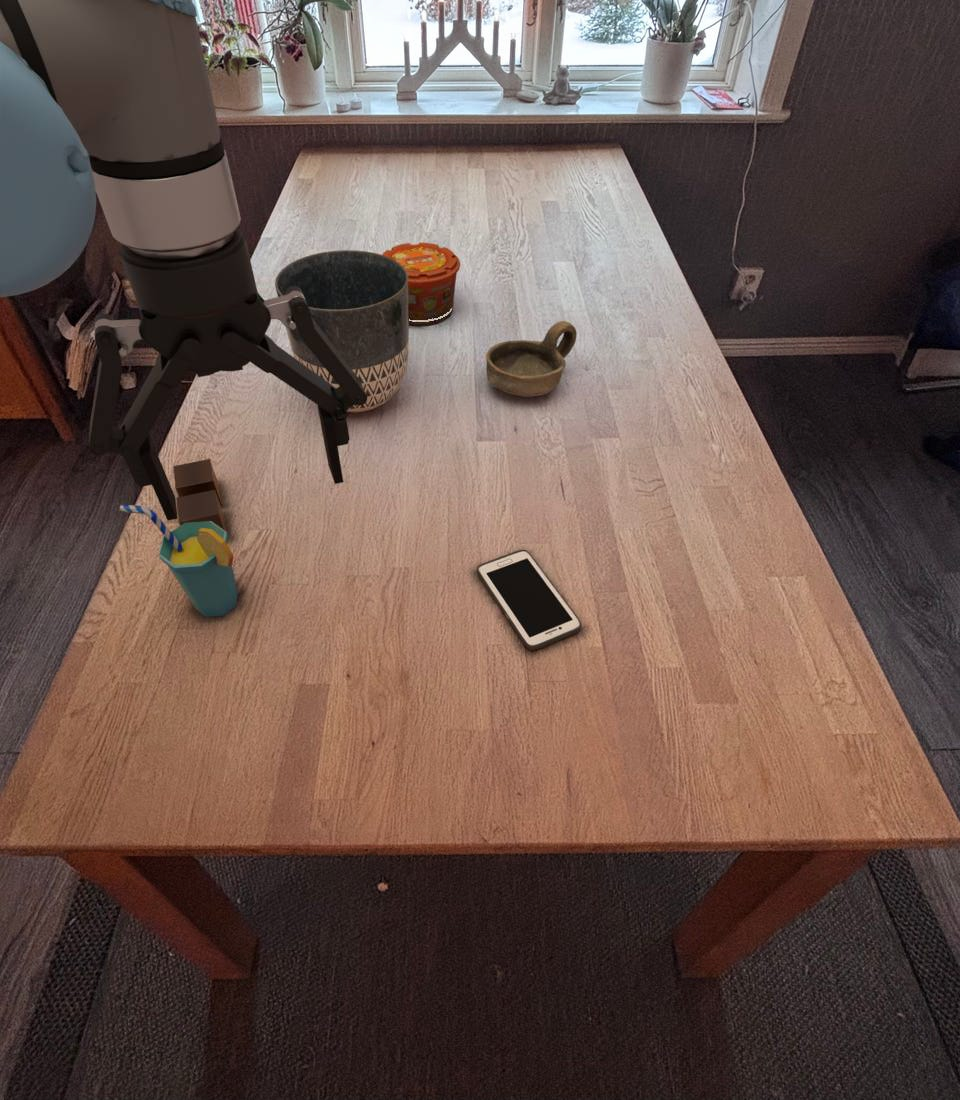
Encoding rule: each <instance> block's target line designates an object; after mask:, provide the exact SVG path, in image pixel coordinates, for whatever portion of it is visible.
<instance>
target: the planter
mask: <svg viewBox="0 0 960 1100" xmlns="http://www.w3.org/2000/svg"><path fill="white" fill-rule="evenodd" d="M291 286H297V287H299V288H300V289H301V291H302V293H303V295H304V298H305V300H306V302H307V305H308V307H309V311H310V314H311V317H312V318H313V320H314V321H315V322H316V324H317V325H318V326H319V327H320V329H321V330H322V331H323V333H324V334H325V335H326V337H327V338H328V339H329V340H330V342H331V343H332V344H333V346H334V347H335V348H336V349H337V351H338V352H339V353H340V355H341V356H342V357H343V359H344V360H345V361H346V362H347V364H348V365H349V366H350V368H351V369H352V370H353V372H354V373H355V374H356V375H357V377H358V378H359V380H360V382H361V384H362V386H363V388H364V391H365V393H366V395H367V401H366V403H365V404H363V405H360V406H358V405H354V406H352V407H350V408H349V409H348V410H347V412H348V413H363V412H368V411H371V410H374V409H376V408H379V407H381V406H382V405H383V404H385V403H386V402H388V401H389V400H391V398H393V396H394V395H395V394H396V393H397V392H398V390H399V389H400V387H401V385H402V384H403V381H404V379H405V376H406V372H407V368H408V363H409V353H410V352H409V351H410V349H409V347H410V344H409V343H410V342H409V341H410V325H409V280H408V273H407V271H406V269H405V268H404V267H403V266H402V265H401V264H400V263H398V262H397V261H395V260H393V259H391V258H389V257H387V256H384V255H382V254H380V253H376V252H372V251H365V250H356V249H355V250H353V249H352V250H351V249H344V250H343V249H340V250H329V251H323V252H318V253H314V254H310V255H307V256H303V257H301V258H298V259H296V260H294V261H292V262H290V263H289V264H287V265H285V266H284V267H283V268H282V269H281V270H280V271H279V272H278V274H277V275H276V277H275V280H274V289H275V292H276V295H277V297H280V296H284V295H285V292H286V290H287V289H288V287H291ZM285 330H286V334H287V338H288V342H289V345H290V348H291V352H292V357H294V358H295V359H297V360H298V361H299V362H301V363H302V364H304V365H305V366H306V367H308V368H309V369H310V370H312V371H313V372H315V373H316V374H317V375H319V376H320V377H322V378H323V379H324V380H326V381H327V382H328V383H330V384H331V385H333V386H334V387H335V388H338V387H340V386H339V385H338V383H337V382H336V381H335V380H334V378H333V377H332V376H331V375H330V374H329V372H328V371H327V370H326V369H325V367H324V366H323V365H322V364H321V362H320V361H319V360H318V359H317V358H316V356H315V355H314V354H313V353H312V351H311V350H310V349H309V348H308V346H307V345H306V344H305V343H304V341H303V340H302V338H301V336H300V335H299V333H298V330H297V328H296V329H293V330H292V329H289V328H286V327H285Z"/></svg>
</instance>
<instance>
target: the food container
mask: <svg viewBox="0 0 960 1100" xmlns="http://www.w3.org/2000/svg"><path fill="white" fill-rule="evenodd" d="M381 255H384V256H387V257H389V258H391V259H393V260H395V261H397V262H398V263H400V264H401V265H402V266H403V267H404V268H405V269H406V271H407V273H408V280H409V319H410V320H428V319H432V318H433V319H434V318H438V317H440V316H443V315H444V314H446V313H447V312H449V311H450V309H451V308H452V306H453V307H454V302H455V301H454V300H455V291H456V283H457V274H458V272H459V271H460V268H461V261H460V258H459V257H458V256H457V255H456V254H455V252H454V251H453V250H451V249H450V248H448V247H446V246H443V247H440V246H439V244H438V243H437V244H436V243H431V242H419V243H417V244H411V243H410V242H407V243H401V244H397V245H395V246H392V247H391V250H390V249H386V250H385V251H383V253H382V254H381ZM452 313H453V309H452V311H451V312H450V313H449V314H448V315H447V316H445V317H443V318H441V319H438V320H434V321H429V322H412V321H409V326H416V327H423V326H424V327H426V326H431V325H438V324H441V323H442V322H444V321H445V320H447V319H448V318H450V317H451V315H452Z"/></svg>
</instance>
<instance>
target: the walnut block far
mask: <svg viewBox="0 0 960 1100" xmlns="http://www.w3.org/2000/svg"><path fill="white" fill-rule="evenodd" d="M172 468H173V469H172V470H173V478H174V488H175V491H176V493H177V496H178V497H183V496H188V495H192V494H197V493H202V492H206V491H211V490H215V492H216V495H217V497H218V500H219V503H220V506H221V508H222V507H223V502H222V501H223V500H222V495H221V489H220V484H219V481H218V478H217V476H216V472H215V469H214V466H213V464H212V461H211V458H206V459H202V460H197V461H191V462H187V463H182V464H181V463H180V464H177V465H173V467H172Z"/></svg>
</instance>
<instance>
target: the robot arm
mask: <svg viewBox="0 0 960 1100" xmlns="http://www.w3.org/2000/svg"><path fill="white" fill-rule="evenodd" d="M197 17H198V12H197V8H196V6H195V4H194V2H193V0H0V298H7V297H14V296H19V295H22V294H26V293H29V292H32V291H36V290H38V289H40V288H43V287H44V286H47V285H48V284H50V283H51V282H53V281H54V280H56V279H58V278H59V277H61V276H62V275H63V274H64V273H65V272H66V271H68V269H70V268H71V267H72V266H73V264H75V262H76V261H77V260H78V259H79V257H80V256H81V254H82V252H83V251H84V249H85V248H86V246H87V244H88V241H89V239H90V237H91V235H92V232H93V228H94V224H95V221H96V220H95V218H96V213H97V212H96V211H97V198H98V201H99V203H100V207H101V209H102V212H103V214H104V217H105V219H106V223H107V226H108V228H109V230H110V233H111V235H112V237H113V238H114V239H115V240H116V241H117V242H118V243H120V244H119V247H118V254H119V255H118V256H119V257H120V260H121V263H122V267H123V268H124V271H125V274H126V277H127V279H128V282H129V285H130V288H131V290H132V293H133V296H134V298H135V301H136V304H137V307H138V309H139V317H138V318H136V319H135V318H134V319H115V318H114V316H112V314H108V313H105V312H102V313H99V314H97V315H96V316H95V318H94V342H95V346H96V349H97V352H98V357H99V361H98V369H97V375H96V382H95V387H94V396H93V402H92V407H91V408H92V409H91V414H90V422H89V428H88V451H89V452H90V454H92V455H94V456H98V457H101V456H104V455H106V454H107V453H113V454H117V455H120V456H121V457H122V458H123V460H124V462H125V465H126V466H127V468H128V469H129V470H128V471H129V473H130V474H131V477H132V478H133V481H134V483H135V484H136V485H138V487H140V488H142V487H148V486H152V488H153V491H154V493H155V495H156V497H157V500H158V503H159V505H160V507H161V509H162V512H163V513H164V515H165V518H166V520H167V521H173V520H177V519H178V509H177V499H176V495H175V493H174V491H173V488H172V486H171V484H170V481H169V479H168V477H167V474H166V471H165V469H164V466H163V464H162V462H161V460H160V457H159V455H158V452H157V450H156V448H155V445H154V442H153V440H152V438H151V435H150V432H151V430H152V428H153V426H154V425H155V423H156V422H157V419H158V418H159V416H160V415H161V413H162V411H163V409H164V407H165V406H166V404H167V402H168V401H169V399H170V398H171V396H172V394H173V392H174V391H175V390H177V389H178V388H179V387H180V385H181V383H182V381H183V379H184V378H185V376H186V375H187V373H188V374H192V375H197V378H203V377H208V376H211V375H213V374H216V373H219V372H238V371H243V370H244V367H245V366H247V365H248V364H250V363H251V364H253V365H254V366H255V367H257V368H258V369H260V370H261V371H262V372H264V373H266V374H272V375H273V376H275V377H276V378H277V379H279V380H280V381H282V382H283V383H285V384H286V385H288V386H289V387H290V388H292V389H293V390H295V391H297V392H298V393H299V394H301V395H302V396H304V397H305V398H307V399H308V400H309V401H311V402H312V403H314V404H316V405H317V412H318V416H319V421H320V427H321V433H322V438H323V439H322V440H323V443H324V444H323V445H324V449H325V455H326V460H327V464H328V468H329V471H330V474H331V477H332V480H333V483H334V485H339V484H343V483H344V476H343V471H342V464H341V459H340V452H339V447H341V446H345V445H349V442H350V440H351V437H350V431H349V424H348V419H349V412H347V410H348V409H349V408H350V407H352V406H354V405H358V406H360V405H363V404H365V403H366V401H367V395H366V393H365V391H364V388H363V386H362V384H361V382H360V380H359V378H358V377H357V375H356V374H355V373H354V372H353V370H352V369H351V368H350V366H349V365H348V364H347V362H346V361H345V360H344V359H343V357H342V356H341V355H340V353H339V352H338V351H337V349H336V348H335V347H334V346H333V344H332V343H331V342H330V340H329V339H328V338H327V337H326V335H325V334H324V333H323V331H322V330H321V329H320V327H319V326H318V325H317V324H316V322H315V321H314V320H313V318H312V317H311V314H310V311H309V307H308V305H307V302H306V300H305V298H304V295H303V293H302V291H301V289H300V288H299V287H297V286H291V287H288V289H287V290H286V292H285V295H284V296H280V297H278V296H277V297H272V298H268V299H264V298H263V297H262V296H261V295H260V293H259V292H258V288H257V283H256V279H255V275H254V270H253V266H252V265H253V264H252V261H251V258H250V257H251V256H250V252H249V248H248V243H247V239H246V235H245V233H244V232H243V230H242V229H240V228H239V226H240V224H241V220H242V218H241V213H240V208H239V205H238V200H237V196H236V191H235V187H234V181H233V177H232V174H231V168H230V165H229V160H228V155H227V151H226V149H225V147H224V144H223V139H222V136H221V132H220V127H219V121H218V117H217V113H216V112H217V111H216V107H215V103H214V98H213V93H212V88H211V84H210V79H209V73H208V70H207V65H206V59H205V56H204V51H203V45H202V41H201V40H202V39H201V36H200V32H199V26H198V22H197ZM272 320H278V321H280V322H281V323H282V325H283V326H284V328H285V329H286V328H289V329H292V330H293V329H296V328H297V330H298V333H299V335H300V336H301V338H302V340H303V341H304V343H305V344H306V345H307V346H308V348H309V349H310V350H311V351H312V353H313V354H314V355H315V356H316V358H317V359H318V360H319V361H320V362H321V364H322V365H323V366H324V367H325V369H326V370H327V371H328V372H329V374H330V375H331V376H332V377H333V378H334V380H335V381H336V382H337V383H338V385H339V386H340V387H338V388H335V387H334V386H333V385H331V384H330V383H328V382H327V381H326V380H324V379H323V378H322V377H320V376H319V375H317V374H316V373H315V372H313V371H312V370H310V369H309V368H308V367H306V366H305V365H304V364H302V363H301V362H299V361H298V360H297V359H295V358H294V356H293V355H291V354H290V353H288V352H287V351H286V350H284V349H283V348H282V347H280V346H279V345H278V344H276V343H275V341H274V340H273V339H272V338H271V337H270V336H268V334H266V333H267V331H268V329H269V328H270V326H271V322H272ZM140 340H141V341H143V342H144V343H145V344H146V345H147V346H148V347H150V348H152V349H153V350H155V351H156V352H157V353H158V354H157V356H156V358H155V362H154V365H153V367H152V369H150V372H149V374H148V376H147V377H146V379H145V381H144V383H143V385H142V387H141V389H140V390H139V392H138V394H137V396H136V398H135V399H134V401H133V403H132V405H131V407H130V409H128V410H129V411H128V412H127V414H126V416H125V418H124V419H123V420H122V423H120V422H119V423H118V427H113V424H114V418H115V414H116V413H115V412H116V407H117V401H118V395H119V389H120V383H121V378H122V370H123V369H122V368H123V362H122V361H123V360H122V358H123V357H127V356H128V355H131V354H132V352H133V350H134V344H135V343H136V342H138V341H140Z"/></svg>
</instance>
